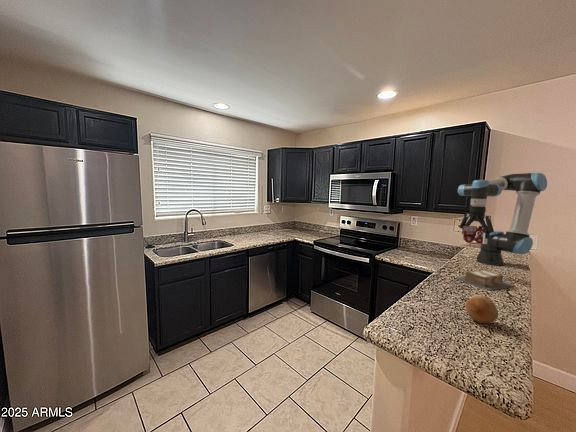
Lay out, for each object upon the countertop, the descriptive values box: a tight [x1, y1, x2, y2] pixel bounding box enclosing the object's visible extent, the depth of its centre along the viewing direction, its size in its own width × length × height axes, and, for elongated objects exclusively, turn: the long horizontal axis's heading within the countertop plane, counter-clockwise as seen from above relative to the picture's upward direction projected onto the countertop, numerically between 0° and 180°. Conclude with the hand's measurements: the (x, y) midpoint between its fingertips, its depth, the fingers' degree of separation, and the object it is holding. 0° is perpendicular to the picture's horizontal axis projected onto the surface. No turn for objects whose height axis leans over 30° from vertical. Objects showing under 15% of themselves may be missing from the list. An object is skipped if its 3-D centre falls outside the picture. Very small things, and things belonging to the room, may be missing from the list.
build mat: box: [454, 275, 515, 291], centre depth 136 cm, size 20×18×1 cm
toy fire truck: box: [462, 225, 488, 245], centre depth 147 cm, size 7×12×10 cm, turn 48°
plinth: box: [465, 269, 504, 287], centre depth 134 cm, size 14×10×5 cm
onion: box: [464, 295, 499, 324], centre depth 93 cm, size 10×10×10 cm
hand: (474, 241), depth 147 cm, fingers closed on toy fire truck, 11 cm apart
